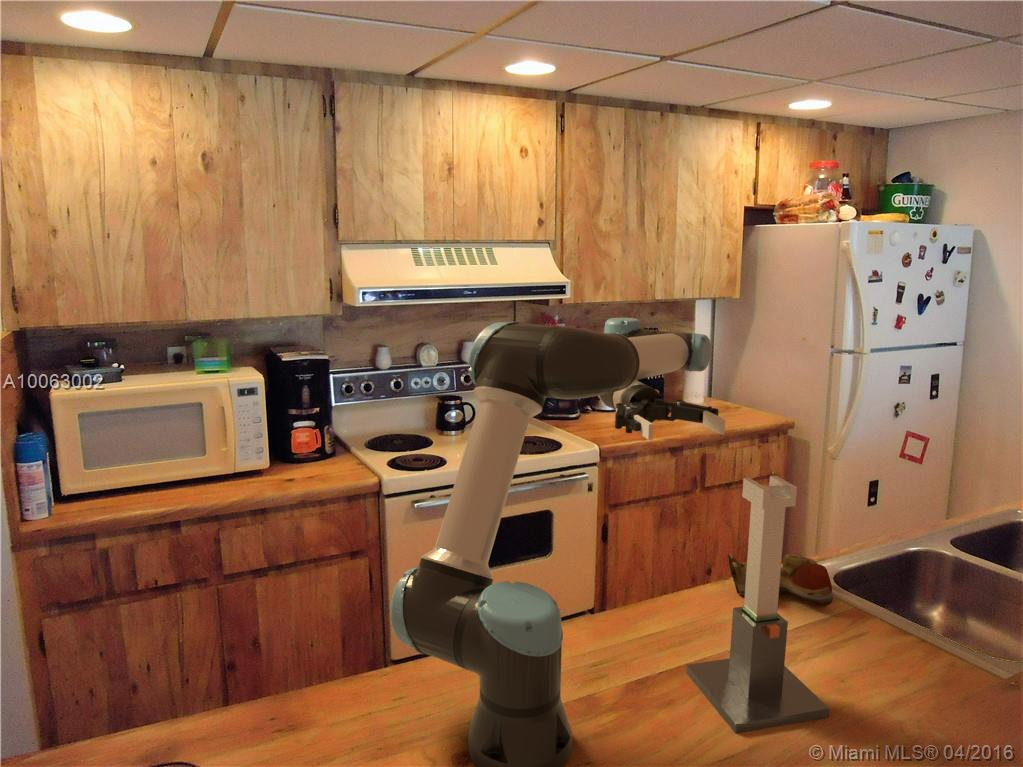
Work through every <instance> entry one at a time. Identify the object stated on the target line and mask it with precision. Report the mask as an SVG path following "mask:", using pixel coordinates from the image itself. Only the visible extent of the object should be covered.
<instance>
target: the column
mask: <svg viewBox="0 0 1023 767" xmlns="http://www.w3.org/2000/svg"><path fill="white" fill-rule="evenodd" d="M797 492H798V486H796V485H794V484H792V483H790V482H789V481H787V480H785V479H783V478H782V477H779V476H777V475H770V476H769V484H768V485H762V484H761V483H759V482H757V481H756V480H754V479H753V478H751V477H745V478H744V477H743V479H742V494H741V495H742V496H741V497H743V498H744V500H747V501H748V502H750V503H751V504H750V516H749V518H750V519H749V528H748V529H749V530H748V545H747V558H746V559H747V560H746V562H747V571H746V585H745V596H744V600H743V603H744V604H742V607H743V611H744V614H745V615H747V616H748V617H749V618H750V619H751V620H752V621H753V622H754V623H762V622H770V621H777V619H778V614H779V613H778V609H779V608H778V606H779V594H780V591H779V583H780V571H781V568H782V559H783V557H782V556H783V555H782V554H783V547H784V546H783V543H784V533H785V532H784V530H785V522H786V520H785V518H786V508H790V507H796V504H797V503H796V502H797Z"/></svg>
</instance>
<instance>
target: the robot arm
mask: <svg viewBox="0 0 1023 767" xmlns="http://www.w3.org/2000/svg"><path fill="white" fill-rule="evenodd" d="M711 354H712V345H711V340H710V338H709V336H707V335H706V334H703V333H695V332H682V331H681V332H680V331H666V330H655V329H646V328H642V323H641V320H640V319H638V318H632V317H610V318H609V319H607V320H606V321H605V324H604V332H600V331H594V330H589V329H584V328H580V327H579V328H578V327H573V326H559V325H549V324H538V323H535V324H534V323H524V322H523V323H522V322H521V321H509V322H503V321H501V322H493V323H491V325H488V326H486V327H484V328H483V329H482V330H481V331H480V332H479V333H478V335H477V336H476V338H475V340H474V342H473V343H472V345H471V348H470V351H469V356H468V361H467V362H468V363H467V364H468V365H469V367H470V368H468V374H469V378H470V379H471V381H472V383H473V384H474V385H475V386H474V388H473V394H474V395H475V397H476V400H477V401H478V406H477V407H478V408H477V409H476V410H477V411H476V414H475V416H474V420H473V423H472V426H471V429H470V433H469V435H468V439H467V442H466V445H465V448H464V452H463V456H462V458H461V462H460V465H459V468H458V471H457V474H456V478H455V481H454V484H453V487H452V490H451V494H450V496H449V501H448V503H447V507H446V510H445V514H444V516H443V520H442V523H441V526H440V529H439V532H438V534H437V535H438V536H437V539H436V542H435V545H434V547H433V548H432V550H430V551H428V552H426V553H424V554H422V555H421V557H420V560H419V564H418V565H417V567H413V568H410V569H408V570H406V571H405V572H404V573H403V574H402V575H403V577H400V578H399V579H398V581H397V583H396V585H395V587H394V589H393V592H392V596H391V601H390V614H389V615H390V624H391V627H392V628H393V632H394V636H396V638H397V639H398V641H399V642H401V644H403V645H404V646H407V647H408V648H411V649H413V650H415V651H416V652H417V653H419V654H421V655H427V656H431V657H433V658H436V659H438V660H441V661H443V662H446V663H448V664H452V665H454V666H456V667H459V668H462V669H463V670H464V669H465V670H466V671H469V672H472V673H475V674H477V676H478V677H479V696H478V697H479V698H478V701H477V702H476V706H475V709H474V712H473V715H472V718H471V721H470V723H469V726H468V731H467V750H468V751H467V752H468V755H469V757H470V759H471V761H472V762H473V764H475V766H476V767H564V766H565V765H566V764H567V763H568V762H569V759H570V757H571V755H572V751H573V750H572V749H573V748H572V747H573V746H572V745H573V733H572V727H571V723H570V721H569V717H568V715H567V712H566V710H565V707H564V704H563V701H562V697H561V690H562V689H561V688H562V687H561V686H562V653H563V652H562V650H563V648H562V647H563V645H562V643H563V640H564V639H563V637H564V632H563V627H562V614H561V610H560V608H559V605H558V602H557V600H555V599H554V597H552V595H551V594H550V593H549V592H547V591H546V590H544V589H542V588H541V587H538V586H536V585H534V584H531V583H528V582H523V581H514V582H513V583H512V582H510V581H509V580H508V581H507V580H505V581H498V582H495V583H494V577H495V576H494V574H493V572H492V571H491V569H490V566H489V562H490V561H489V560H490V557H491V553H492V550H493V547H494V544H495V540H496V536H497V533H498V530H499V527H500V523H501V519H502V516H503V513H504V509H505V505H506V502H507V499H508V495H509V492H510V488H511V485H512V481H513V478H514V474H515V472H516V468H517V465H518V460H519V458H520V455H521V451H522V447H523V444H524V440H525V438H526V434H527V430H528V426H529V423H530V420H531V419H532V418H533V417H535V416H537V415H539V414H541V413H542V411H543V407H544V405H545V401H546V399H547V398H550V399H556V400H557V399H560V400H579V399H587V398H594V397H598V399H600V401H601V402H602V403H603V404H604V405H605V406H607V407H608V408H611V409H613V410H615V415H614V416H615V417H614V418H615V419H614V429H616V430H621V429H622V428H623V427H625V433H626V434H632V433H633V432H635V433H637V434H639V435H641V436H642V437H643V438H645V439H647V440H648V441H649V440H650V441H651V440H653V439H654V438H653V437H654V436H653V434H654V433H653V432H654V424H653V422H654V423H655V421H662V420H663V421H668V422H674V421H676V420H679V421H685V422H686V421H687V422H690V423H691V422H692V423H698V424H702V426H703V427H705V428H707V429H709V430H711V431H713V432H714V433H716V434H719V435H725V432H726V431H725V430H726V419H725V418H724V417H721V416H719V408H716V407H713V406H711V405H709V406H705V405H702V404H701V405H699V404H696V403H693V402H687V401H684V400H682V399H677V400H675V402H674V401H667V400H665V399H663V397H662V396H661V394H660V393H659V391H658V390H656V389H655V388H653V387H651V386H648V385H647V384H644V383H643V382H641V381H639V380H643V379H647V378H651V377H657V376H660V375H666V374H668V373H672V372H676V371H687V372H690V373H691V372H703V371H705V370H706V369H707V367H708V366H709V364H710V360H711ZM669 415H670V416H669Z"/></svg>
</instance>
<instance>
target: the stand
mask: <svg viewBox="0 0 1023 767" xmlns="http://www.w3.org/2000/svg"><path fill="white" fill-rule="evenodd" d="M788 625H789V621H788V620H787V619H785V618H784V617H782V616H781V614H779V613H778V619H777V621H770V622H762V623H754V622H753V621H752V620H751V619H750V618H749V617H748V616H747V615H745V614H744V611H743V606H738V607H737V606H736V607H732V620H731V633H730V648H729V658H724V659H717V660H716V659H715V660H710V661H703V662H697V663H689V664H686V669H685V673H686V674H687V676H688V677H689V679H690V680H691V681H692V682H693V683H694V684H695V685H696V687H697V688H698V689H699V690H700V692H701V693H702V694H703V695H704V696H705V698H706V699H707V700H708V702H709V703H710V704H711V705H712V707H713V708H714V709H715V711H717V712H718V714H719V715H720V716H721V717H722V718H723V720H724V721H725V722H726V724H727V725H728V726H729V728H730V729H731V730H732V731H733V732H734V733H735V734H739V733H745V732H750V731H757V730H763V729H768V728H773V727H774V728H775V727H779V726H785V725H791V724H796V723H802V722H809V721H815V720H818V719H825V718H829V717H830V707H829V706H828V705H827V704H825V703H824V702H823V700H822V699H820V697H818V696H817V695H816V693H814V692H813V691H812V690H811V689H810V688H809V687H808V686H807V685H806V684H805V683H803V681H801V680H800V679H799V678H798V677H797V676H796V675H795V674H794V673H793V672H792V671H791V670H790V669H789V668H788V667H786V665H785V664H786V663H785V661H786V650H787V647H786V646H787V639H788V638H787V637H788Z"/></svg>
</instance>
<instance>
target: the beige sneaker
mask: <svg viewBox="0 0 1023 767" xmlns="http://www.w3.org/2000/svg"><path fill="white" fill-rule="evenodd" d="M727 557H728V563H729V565H728V566H729V570H730V572H731V573H730V574H731V577H732V580H733V583H734V586H735V587H734V588H735V589H736V590H735V591H736V592H737V593H736V594H737V595H740V596H744V597H745V585H746V571H747V561H745V562H744V561H743V562H742V561H741V562H739V561H737V559H736V556H734V554H733V553H728V554H727ZM779 592H789V593H791V594H793V595H796V596H797V597H800V598H802V599H803V600H804V601H805V602H806V603H809V604H811V605H813V606H819V607H827V606H830V605H831V604H832V602H833V600H834V596H833V585H832V582H831V577H830V575H829V572H828V569H827V567H826V566H825V565H822V564H818V562H816V561H815V560H814V559H812V558H809V557H805V556H802V554H801V553H800V552H796V553H794V554H789V553H787V554H785V555H784V556H783V557H782V566H781V571H780V583H779Z"/></svg>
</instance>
